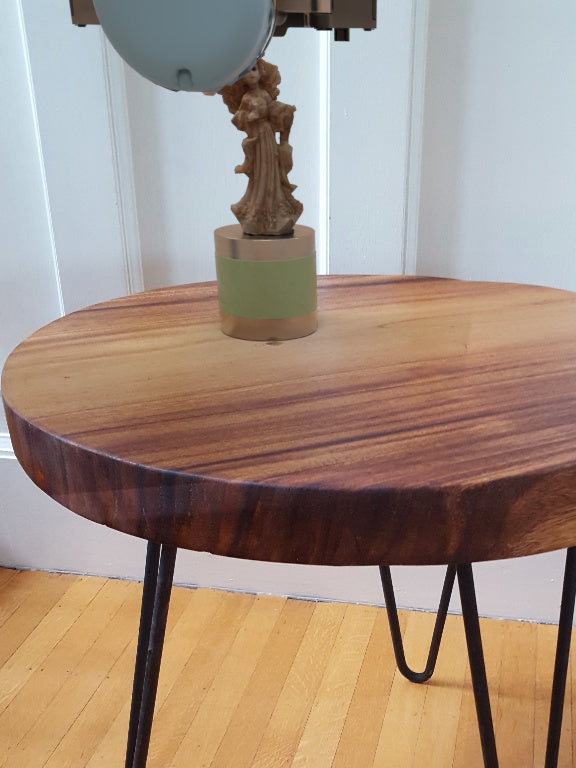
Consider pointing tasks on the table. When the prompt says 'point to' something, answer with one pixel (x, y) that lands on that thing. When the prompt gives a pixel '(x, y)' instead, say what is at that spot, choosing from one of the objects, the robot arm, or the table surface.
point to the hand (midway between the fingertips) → (231, 6)
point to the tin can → (266, 283)
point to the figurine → (263, 151)
